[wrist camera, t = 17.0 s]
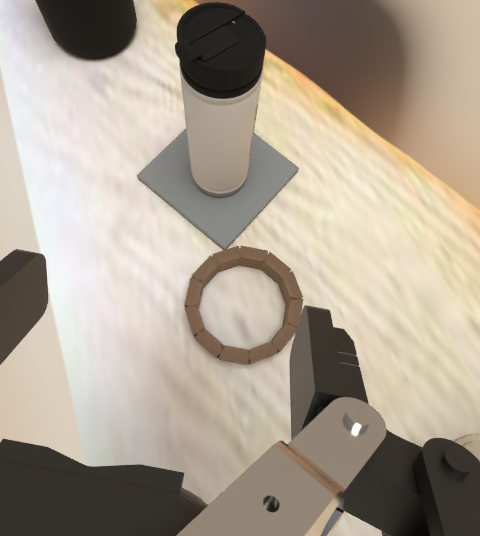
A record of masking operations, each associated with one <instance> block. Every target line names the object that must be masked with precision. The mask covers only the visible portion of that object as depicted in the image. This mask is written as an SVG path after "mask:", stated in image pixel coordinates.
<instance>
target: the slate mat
mask: <svg viewBox="0 0 480 536" xmlns="http://www.w3.org/2000/svg"><path fill="white" fill-rule="evenodd" d="M298 170H299V168H298V167H297V166H296V165H295V164H293V163H292V162H291V161H289V160H288V159H287V158H285V157H284V156H283V155H282V154H280V153H279V152H278V151H276V150H275V149H274V148H273V147H271V146H270V145H269V144H267V143H266V142H265V141H264V140H262V139H261V138H260V137H258V136H257V135H256V134H255V133H254V134H253V140H252V147H251V154H250V160H249V167H248V173H247V179H246V182H245V184H244V185H243V187H242V188H241V189H240V190H239V191H238V192H237V193H235V194H233V195H231V196H228V197H212V196H209V195H207V194H205V193H203V192H202V191H201V190H200V189H199V188H198V187H197V186H196V185H195V183H194V181H193V178H192V172H191V163H190V154H189V145H188V137H187V128H186V129H185V130H184V131H183V132H182V133H181V134H180V135H179V136H178V137H177V138H176V139H175V140H174V141H173V142H171V143H170V144H169V145H168V146H167V147H166V148H165V149H164V150H163V151H162V152H161V153H160V154H159V155H158V156H157V157H156V158H155V159H154V160H152V161H151V162H150V163H149V164H148V165H147V166H146V167H145V168H144V169H143V170H142V171H141V172H140V173H139V174H138V175H137V177H138V179H139V180H140V181H142V182H143V183H144V184H145V185H146V186H148V187H149V188H150V189H151V190H152V191H154V192H155V193H156V194H157V195H158V196H160V197H161V198H162V199H163V200H164V201H166V202H167V203H168V204H169V205H170V206H172V207H173V208H174V209H175V210H176V211H178V212H179V213H180V214H181V215H182V216H184V217H185V218H186V219H187V220H188V221H190V222H191V223H192V224H193V225H194V226H196V227H197V228H198V229H199V230H200V231H201V232H203V233H204V234H205V235H206V236H207V237H209V238H210V239H211V240H212V241H213V242H215V243H216V244H217V245H218V246H219V247H221V248H222V249H223V250H226V249H227V248H228V247H229V246H230V245H231V244H232V243H233V242H234V241H235V239H236V238H237V237H238V236H239V235H240V234H241V233H242V232H243V231H244V230H245V229H246V227H247V226H248V225H249V224H250V223H251V222H252V221H253V220H254V219H255V218H256V217H257V215H258V214H259V213H260V212H261V211H262V210H263V209H264V208H265V207H266V206H267V205H268V203H269V202H270V201H271V200H272V199H273V198H274V197H275V196H276V195H277V194H278V193H279V191H280V190H281V189H282V188H283V187H284V186H285V185H286V184H287V183H288V182H289V181H290V180H291V178H292V177H293V176H294V175H295V174H296V173H297V172H298Z"/></svg>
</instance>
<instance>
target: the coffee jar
mask: <svg viewBox="0 0 480 536" xmlns="http://www.w3.org/2000/svg"><path fill="white" fill-rule="evenodd" d="M36 3H37V5H38V7H39V9H40V11H41V13H42V15H43V18H44V20H45V22H46V24H47V26H48V28H49V30H50V32H51V34H52V36H53V38H54V40H55V41H56V42H58V43H59V44H60V45H61V46H62V47H63V48H64V49H66V50H67V51H70V52H71V53H74V54H76V55H78V56H80V57H85V58H92V59H95V58H104V57H108V56H110V55H113V54H115V53H117V52H118V51H120V50H121V49H122V48H124V47H125V46H126V44H127V43H128V42H129V40H130V39H131V37H132V35H133V34H134V30H135V26H136V21H137V19H136V13H135V7H134V3H133V0H36Z"/></svg>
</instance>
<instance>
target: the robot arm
mask: <svg viewBox="0 0 480 536" xmlns="http://www.w3.org/2000/svg"><path fill="white" fill-rule="evenodd" d="M47 304H48V285H47V270H46V259H45V257H44V255H43V254H39V253H34V252H29V251H24V250H18V249H16V250H14V251H13V252H11V253H10V254H9V255H7V256H6V257H5V258H3V260H1V261H0V364H1V363H2V362H3V361H4V360H5V359H6V358H7V357H8V355H9V354H10V353H11V352H12V351H13V350H14V348H15V347H16V346H17V345H18V344H19V343H20V341H21V340H22V339H23V338H24V337H25V336H26V335H27V333H28V332H29V331H30V330H31V329H32V328H33V326H34V325H35V324H36V323H37V322H38V321H39V319H40V318H41V317H42V316H43V314H44V312H45V310H46V307H47ZM290 399H291V436H292V441H291V442H290V443H288V444H286V443H284V442H283V441H279V442H277V443H276V444H274V445H273V446H272V447H271V448H270V449H269V450H268V451H267V452H266V453H264V454H263V455H262V456H261V457H260V458H259V459H258V460H257V461H256V462H255V463H254V464H253V465H252V466H250V467H249V468H248V469H247V470H246V471H245V472H244V473H243V474H242V475H241V476H240V477H239V478H238V479H236V480H235V481H234V482H233V483H232V484H231V485H230V486H229V487H228V488H227V489H226V490H225V491H224V492H223V493H221V494H220V495H219V496H218V497H217V498H216V499H215V500H214V501H213V502H212V503H211V504H210V505H209V506H208V505H207V504H206V503H205V502H204V501H203V500H201V499H200V498H199V497H197V496H196V495H194V494H193V493H191V492H190V491H188V490H186V489H184V488H182V484H183V478H184V473H182V472H177V471H172V470H166V469H161V468H156V467H150V466H145V465H120V466H100V467H90V466H86V465H83V464H81V463H79V462H77V461H75V460H73V459H71V458H69V457H67V456H65V455H63V454H61V453H59V452H57V451H55V450H52V449H50V448H48V447H44V446H39V445H34V444H28V443H23V442H18V441H12V440H7V439H3V440H2V441H1V442H0V536H330V534H331V533H332V531H333V530H334V529H335V527H336V526H337V524H338V523H339V522H340V520H341V519H342V517H343V516H344V515H345V513H346V512H348V513H349V514H351V515H353V516H355V517H357V518H359V519H361V520H363V521H365V522H366V523H368V524H370V525H372V526H374V527H376V528H378V529H380V530H382V536H480V435H470V436H465V437H463V438H460V439H458V440H457V441H455V442H453V441H451V440H448V439H443V438H434V439H430V440H428V441H427V442H426V443H425V444H424V446H423V448H422V447H420V446H418V445H415V444H413V443H411V442H409V441H407V440H404V439H402V438H400V437H398V436H396V435H394V434H393V433H391V432H389V431H388V430H387V429H386V425H385V422H384V420H383V418H382V417H381V415H380V414H379V413H378V412H377V411H376V410H375V409H374V408H373V407H371V406H370V405H369V404H368V400H367V396H366V391H365V387H364V383H363V379H362V375H361V371H360V367H359V362H358V358H357V357H356V350H355V346H354V342H353V340H352V339H351V338H350V336H349V335H348V334H347V332H346V331H345V330H344V329H340V328H335V327H333V324H332V319H331V313H330V310H328V309H322V308H317V307H312V306H307V305H305V306H304V308H303V311H302V314H301V318H300V321H299V324H298V328H297V331H296V334H295V338H294V341H293V345H292V349H291V354H290Z"/></svg>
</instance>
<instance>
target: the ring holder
mask: <svg viewBox="0 0 480 536" xmlns="http://www.w3.org/2000/svg"><path fill="white" fill-rule="evenodd" d="M267 252H268V251H266V250H261V249H255V248H250V247H245V246H241V248H240V249H239V246H236V247H233V248H230V249H227V250H224V251H221V252H218V253H215V254H213V257H212V256H211V255H210V257H209V258H208V259H207V260H206V261H205V262H204V263H203V264H202V265H201V266H200V267H199V268H198V269H197V271H196V272H195V273H194V274H193V275H192V278H191V279H190V283H189V288H188V292H187V296H186V301H185V310H186V313H187V316H188V319H189V322H190V325H191V328H192V331H193V335H194V337H195V338H196V340H197V341H198V342H199V343H200V344H201V345H202V346H204V347H205V348H206V349H207V350H208V351H209V352H210V353H211V354H213V355H214V356H215V357H216V358H218V356H219V355H220V357H219V359H220V360H225V361H230V362H236V363H241V364H251V363H253V362H256V361H259V360H262V359H264V358H267V357H270V356H273V355H275V354H277V353H278V352H280V351H281V350H282V349H283V348H284V346H285V345H286V344H287V343H288V341H289V340H290V339H291V338H292V336H293V335H294V334H295V333H296V331H297V328H298V324H299V321H300V318H301V311H302V304H303V299H301V298H302V297H303V296H302V293H301V291H300V288H299V286H298V283H297V281H296V278H295V276H294V273H293V271H292V272H290V270H291V269H290V268H289V267H288V266H287V265H285V264H284V263H283V262H282V261H280V260H279V259H278V258H277V257H276V256H274V255H273V254H272V253H271V252H269V254H268V255H267ZM238 265H241V266H246V267H251V268H256V269H261V270H262V271H263V272H265V273H266V274H267V275H268V276H269V277H271V278H272V279H273V280H274V281H275V282H277V283H278V285H279V287H280V290H281V293H282V295H283V298H284V300H285V303H286V308H285V315H284V321H283V327H282V328H281V329H280V331H279V332H278V333H277V334H276V336H275V337H274V338H273V339H272V340H271V342H270V343H267V344H264V345H261V346H258V347H256V348H253V349H250V350H246V349H241V348H235V347H230V346H225V345H223V344H222V343H221V342H219V341H218V340H217V339H216V338H215V337H214V336H213V335H211V334H210V333H209V332H208V331H207V330H206V329H205V328H204V325H203V322H202V319H201V316H200V313H199V310H198V309H199V305H200V300H201V295H202V291H203V288H204V287H205V286H206V285H207V284H208V282H209V281H210V280H211V279H212V278H213V277H214V276H215V275H216V274H217V273H218V272H220V271H223V270H226V269H229V268H232V267H235V266H238Z"/></svg>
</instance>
